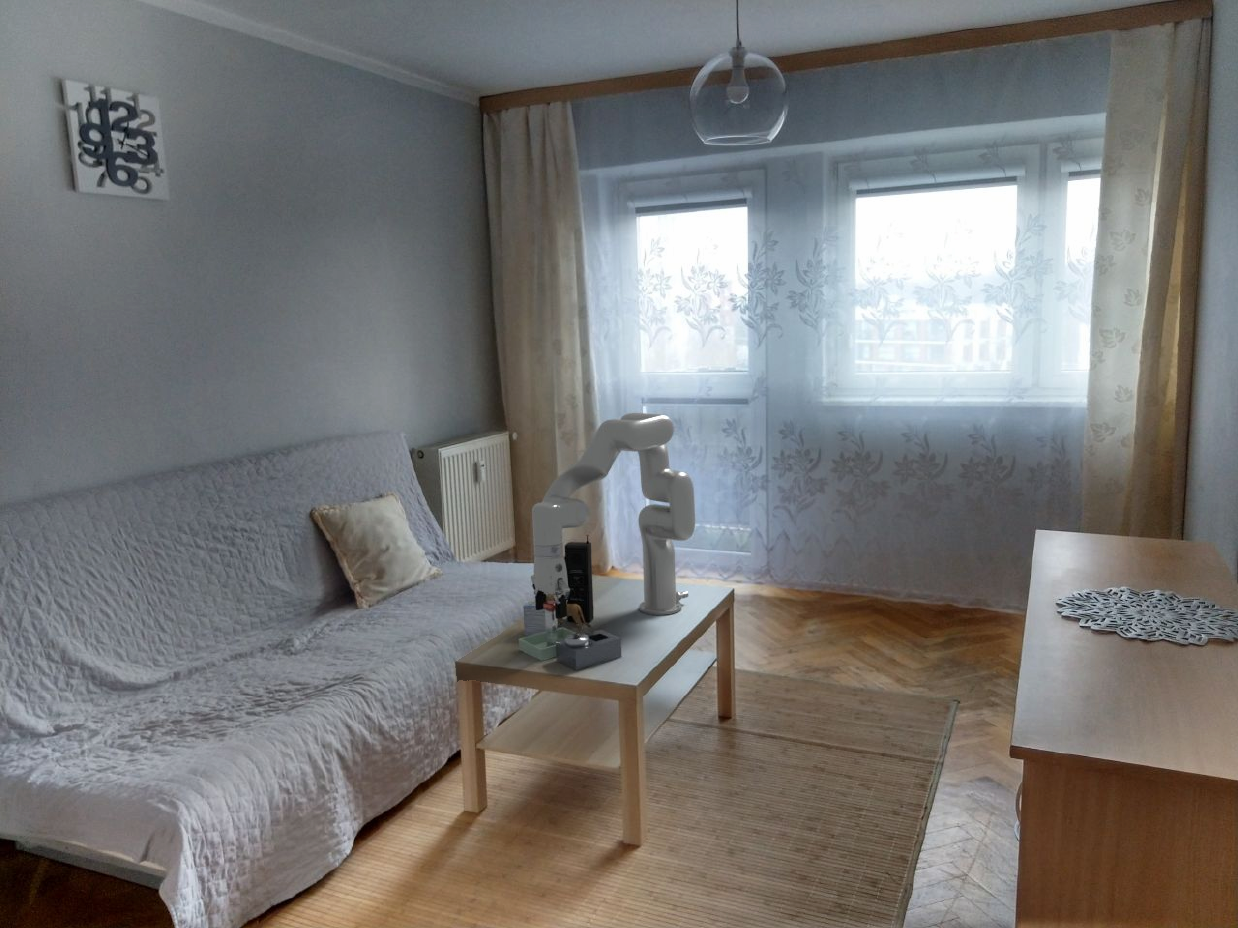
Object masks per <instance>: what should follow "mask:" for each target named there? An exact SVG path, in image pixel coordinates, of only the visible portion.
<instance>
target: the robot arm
mask: <svg viewBox="0 0 1238 928" xmlns="http://www.w3.org/2000/svg"><path fill="white" fill-rule="evenodd" d="M674 432H675V427H674V423H673V420H672V419H671V418H670V417H669V416H668V415H665V414H661V413H659V414H657V413H655V414H654V413H644V412H631V413H630V412H629V413H626V414H624V415H623V416H622V417H620V419H619V418H618V419H616V418H615V419H614V418H613V419H612V418H611V419H606V420H604V421H603V422H602V423H601V424H600V425H599V426H598V428H597V430H596V432H595V434H594V435H593V437H592V439H591V440H590V443H589V444H588V445H587V447H586V449H585V450H584V452H583V454H582V456H581V457H580V459H579V460H578V461H577V462H576V463H574V464H572V465H571V466H570V467H568V468H567V469H566V470H565V471H564V472H561V474H560V475H558V476H557V477H556V478H555V479H554V480H553V481H552V483H551V484H550V486H549V487H548V490H547V491H546V493H545V495H544V496H543V498H542V501H541V502H537V503H535V504H534V505H533V506H532V507H531V508H532V509H531V519H532V521H531V522H532V541H533V556H534V557H533V575H531V576H530V580H531V581H530V582H531V583H532V585H531V587H532V589H533V595H534V602H535V606H536V610H541V609H544V608H543V603H544V602H547V600H546V595H547V594H550V595H553V596H554V598H555V600H556V604H555V616H556V618H557V619H559V618H563V619H564V618H567V602H568V600H567V599H568V598H569V593H570V589H569V587H568V580H567V571H566V564H565V560H564V557H565V555H564V550H563V549H564V547H563V529H567V528H568V529H570V528H571V529H572V528H573V529H574V528H578V527H579V528H580V527H581V526H583V525H585V524H586V523H587V522H588V520H589V518H590V516H591V509H590V506H589V505H588V504H587V503H586V502H585V501H584V500H582V499H578V498H573V497H571V496H572V495H573V494H574V493H575V492H577V490H579V489H582V488H583V487H586V486H588V485H590V484H593V483H596V482H599V481H601V480H604V479H605V478H606V477H607V476H608V475H609V474H610V473H609V472H610V471H611V469H612V467H613V466H614V464H615V462H616V461H617V458H618V456H619V455H620V454H621V452H622V451H623V452H637V453H638V454H637V455H638V459H639V469H640V482H641V483H640V484H641V485H640V486H641V492H642V496H643V497H644V498H645V499H647V500H649V501H654V502H659V503H660V502H661V503H668V504H669V505H665V504H657V503H655V504H649V505H645V506H644V507H643V508H642V509H641V510H640V513H639V514H638V518H637V519H638V520H637V521H638V528H639V532H640V537H641V543H642V568H643V573H642V574H643V599H644V601H643V602H641V603H640V604H639V606H638V607H639V608H638V609H639V610H640V611H641V612H642V613H644V614H648V615H655V616H657V615H658V616H659V615H661V616H662V615H671V614H675V613H678V612H679V611H681V610H682V603H681V602H680V601H681V600H682V599H686V598H688V597H689V592H688V591H687V590H684V591H682V592H680V591H677V583H676V582H677V580H676V579H677V578H676V574H677V573H676V550H675V545H674V544H673V541H681V542H682V541H683V542H684V541H687V540H689V539H690V538H691V537H692V536H693V534H694V531H695V528H696V508H695V507H696V505H695V488H694V483H693V481H692V479H691V477H690V476H689V474H688V473H686V472H684V471H680V470H675V469H674V470H672V469H671V466H670V459H669V451H668V447H667V444H668V443H670V440H672V437H673V435H674ZM559 595H560V597H559Z"/></svg>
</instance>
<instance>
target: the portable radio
mask: <svg viewBox="0 0 1238 928" xmlns="http://www.w3.org/2000/svg"><path fill="white" fill-rule="evenodd" d="M585 535H586V542H585V541H584V542H583V541H581V542H580V541H570V542H567V543H566V544H564V560H565V564H566V571H567V580H568V587H569V589H570V593H569V598H568V599H567V600H568V602H566V604H577V605H579V606H580V608H581V610H582V613H583V617H584V620H585V622H586V623H587V624H588V623H591V622H592V620H594V617H595V615H594V593H593V592H594V591H593V572H592V571H593V566H592V542H590V540H589V535H588V534H585ZM580 619H581V622H582V624H585V623H584V622H583V619H582V617H581V616H580ZM566 621H567V622H568V623H577V622H576V621H575V620H574V619H573V617H572V615H571V616H566Z"/></svg>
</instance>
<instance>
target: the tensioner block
mask: <svg viewBox="0 0 1238 928" xmlns="http://www.w3.org/2000/svg"><path fill="white" fill-rule="evenodd" d="M575 633H576V634H571V635H568V636H566V637H565V640H561V641H557V642H556V657H555V659H556V662H558V663H560V662H561V663H560V664H563V665H564V666H567V667H569V668H571V669H572V670H575V671H579V670H583V669H585V668H590V667H593V666H596V665H600V664H602V663H607V662H610V661H613V660H616V659H619V658H622V639H621V637H619V636H616V635H614V634H612V633H609V632H606V631H604V630H601V629H599V630H594V631H591V632H587V633H577V632H575Z"/></svg>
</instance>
